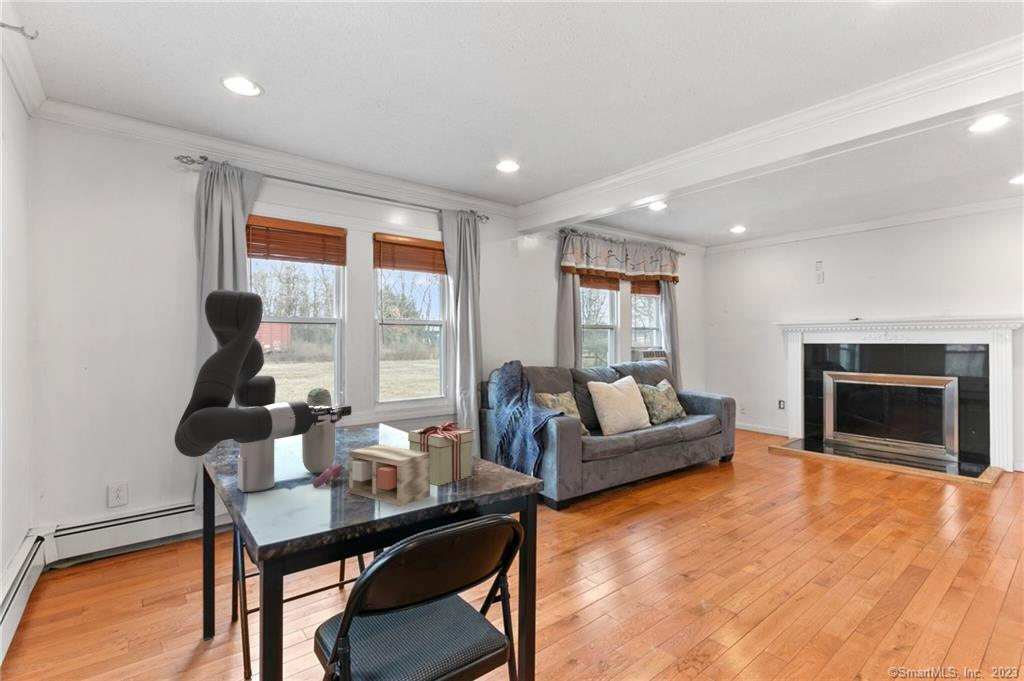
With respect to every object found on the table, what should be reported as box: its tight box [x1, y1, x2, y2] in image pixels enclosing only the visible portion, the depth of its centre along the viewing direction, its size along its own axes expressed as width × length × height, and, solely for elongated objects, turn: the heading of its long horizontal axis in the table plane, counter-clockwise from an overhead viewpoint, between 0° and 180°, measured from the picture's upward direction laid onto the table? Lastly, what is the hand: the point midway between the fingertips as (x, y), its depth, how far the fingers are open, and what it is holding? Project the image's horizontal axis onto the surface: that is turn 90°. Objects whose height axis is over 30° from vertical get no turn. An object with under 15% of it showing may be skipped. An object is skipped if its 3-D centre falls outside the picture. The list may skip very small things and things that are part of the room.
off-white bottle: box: [301, 387, 336, 474], centre depth 163 cm, size 10×10×28 cm
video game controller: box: [312, 463, 345, 488], centre depth 150 cm, size 10×5×7 cm, turn 170°
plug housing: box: [348, 443, 431, 507], centre depth 139 cm, size 11×21×12 cm, turn 57°
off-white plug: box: [352, 459, 372, 481], centre depth 141 cm, size 8×4×5 cm, turn 147°
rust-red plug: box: [378, 465, 397, 490], centre depth 133 cm, size 8×4×5 cm, turn 147°
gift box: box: [407, 421, 477, 487], centre depth 157 cm, size 17×18×17 cm
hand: (349, 410), depth 121 cm, fingers closed
